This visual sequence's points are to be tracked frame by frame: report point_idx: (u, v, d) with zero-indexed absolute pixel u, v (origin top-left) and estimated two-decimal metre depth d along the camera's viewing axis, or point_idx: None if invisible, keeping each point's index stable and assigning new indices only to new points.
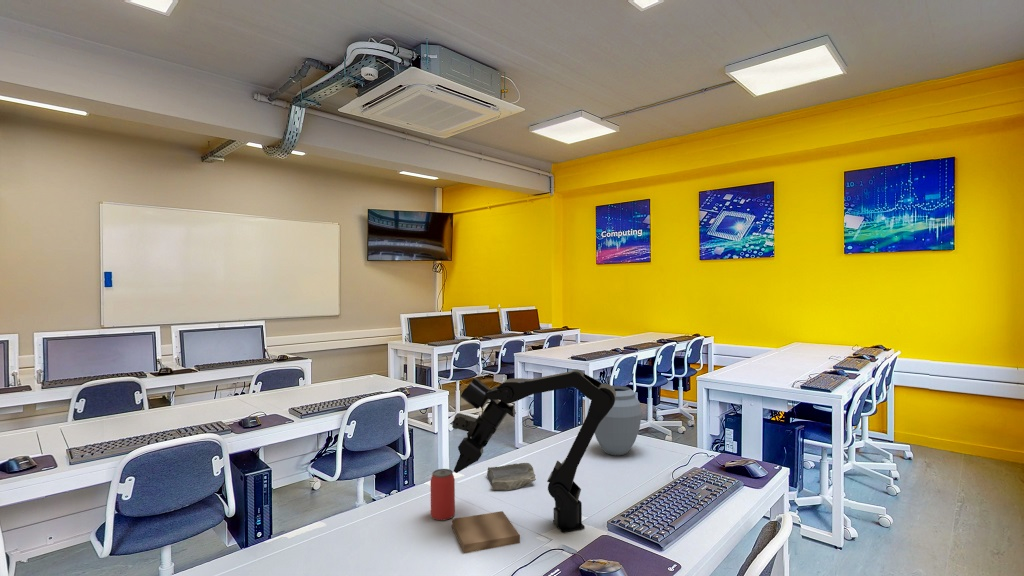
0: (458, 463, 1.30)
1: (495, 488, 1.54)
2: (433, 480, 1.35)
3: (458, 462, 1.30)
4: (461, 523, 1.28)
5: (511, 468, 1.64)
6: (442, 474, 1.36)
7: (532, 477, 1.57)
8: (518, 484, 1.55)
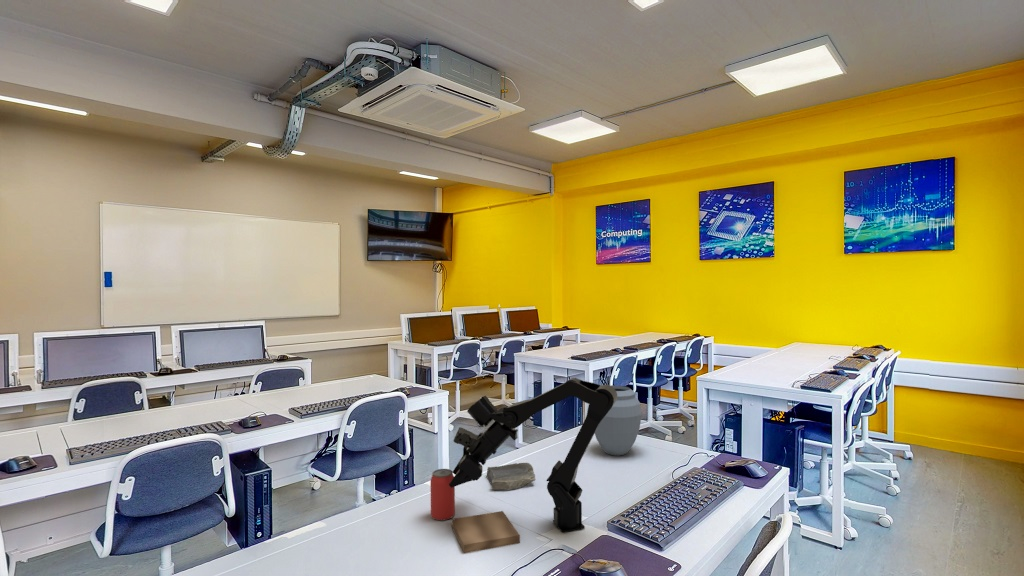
0: (455, 478, 1.32)
1: (495, 488, 1.54)
2: (433, 480, 1.35)
3: (455, 477, 1.31)
4: (461, 523, 1.28)
5: (511, 468, 1.65)
6: (442, 474, 1.36)
7: (532, 477, 1.57)
8: (518, 484, 1.55)
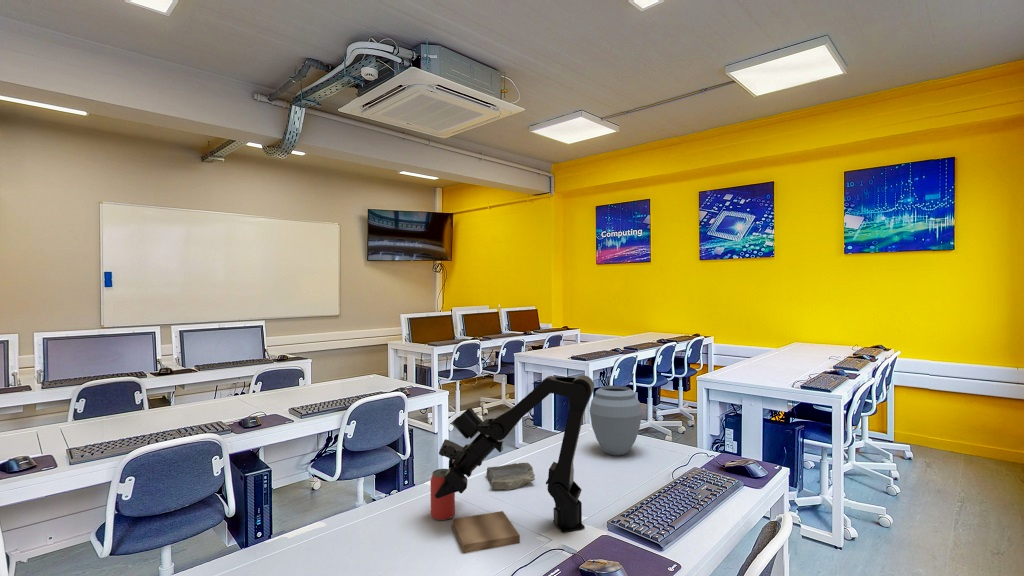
0: (441, 489, 1.33)
1: (495, 488, 1.54)
2: (433, 479, 1.35)
3: (441, 488, 1.32)
4: (461, 523, 1.28)
5: (510, 468, 1.65)
6: (442, 474, 1.36)
7: (531, 477, 1.57)
8: (518, 483, 1.55)
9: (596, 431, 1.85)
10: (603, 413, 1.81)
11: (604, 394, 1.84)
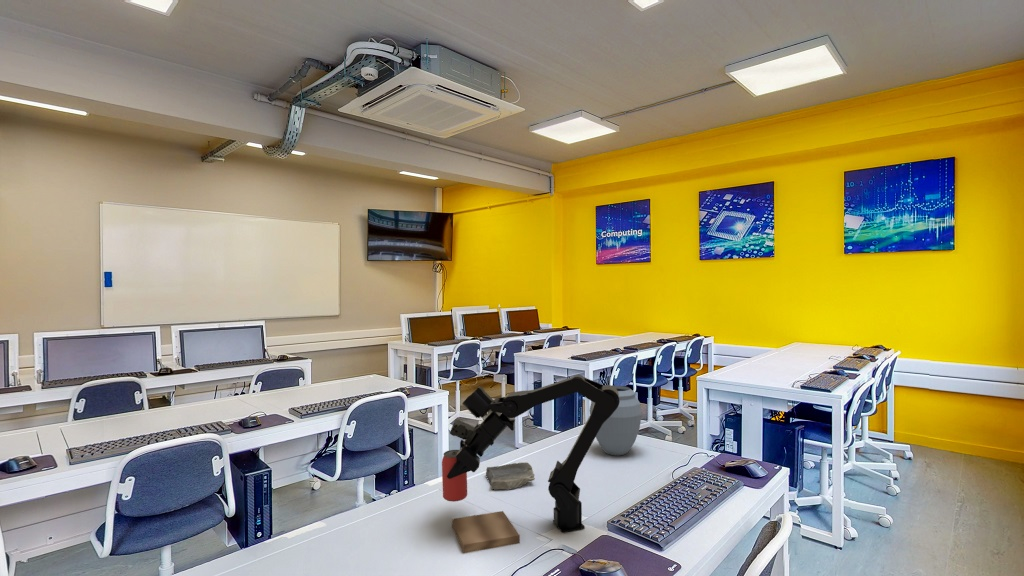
0: (453, 470, 1.30)
1: (494, 488, 1.54)
2: (445, 460, 1.32)
3: (453, 468, 1.29)
4: (461, 523, 1.28)
5: (510, 468, 1.65)
6: (453, 455, 1.33)
7: (531, 476, 1.58)
8: (517, 483, 1.55)
9: None
10: None
11: None
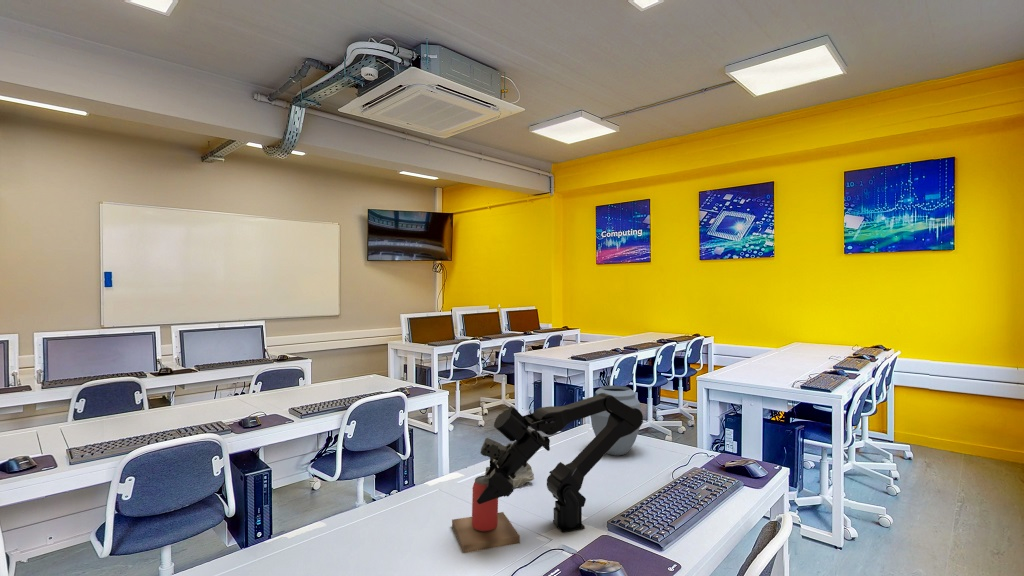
0: (483, 494, 1.21)
1: None
2: (476, 487, 1.24)
3: (484, 493, 1.21)
4: (461, 524, 1.28)
5: None
6: (485, 481, 1.26)
7: (531, 476, 1.58)
8: (517, 483, 1.55)
9: (596, 431, 1.85)
10: (603, 413, 1.81)
11: None
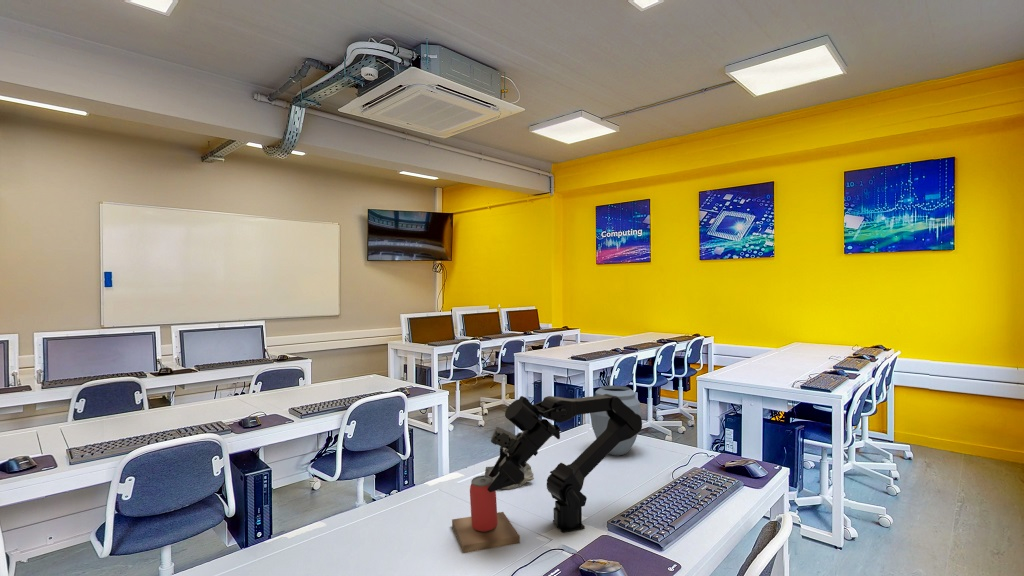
0: (494, 482, 1.21)
1: None
2: (473, 489, 1.24)
3: (495, 481, 1.21)
4: (461, 524, 1.28)
5: None
6: (482, 482, 1.25)
7: (530, 476, 1.58)
8: None
9: (596, 431, 1.85)
10: (603, 413, 1.81)
11: None
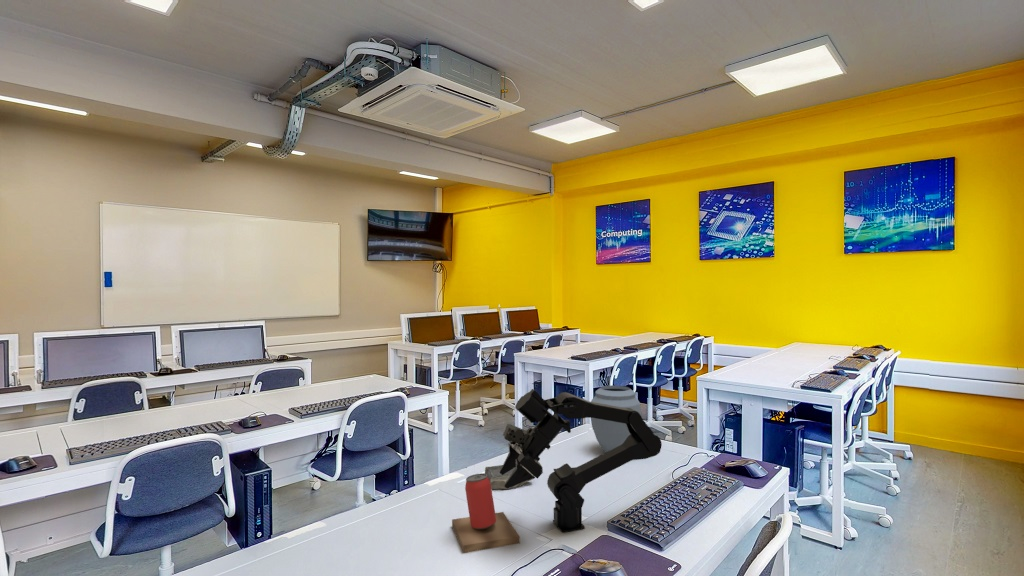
0: (511, 478, 1.22)
1: (493, 487, 1.54)
2: (466, 485, 1.26)
3: (512, 477, 1.22)
4: (461, 524, 1.28)
5: None
6: (475, 479, 1.27)
7: None
8: None
9: (596, 431, 1.85)
10: None
11: (604, 394, 1.84)
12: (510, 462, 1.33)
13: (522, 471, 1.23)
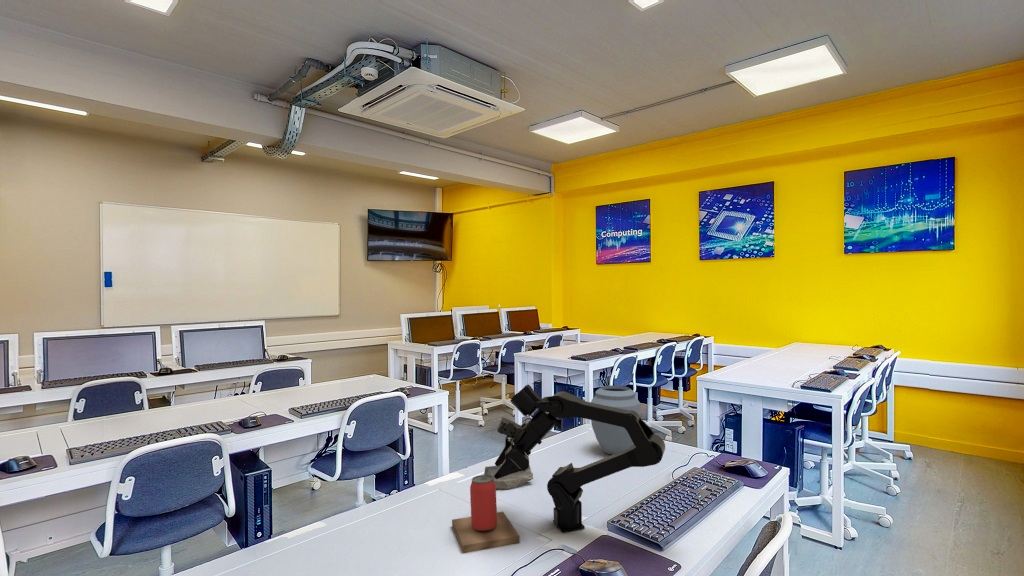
0: (501, 470, 1.27)
1: None
2: (471, 485, 1.25)
3: (501, 468, 1.27)
4: (461, 524, 1.28)
5: None
6: (481, 480, 1.26)
7: (530, 476, 1.58)
8: (516, 483, 1.56)
9: (596, 431, 1.85)
10: None
11: (604, 394, 1.84)
12: None
13: (511, 463, 1.27)
